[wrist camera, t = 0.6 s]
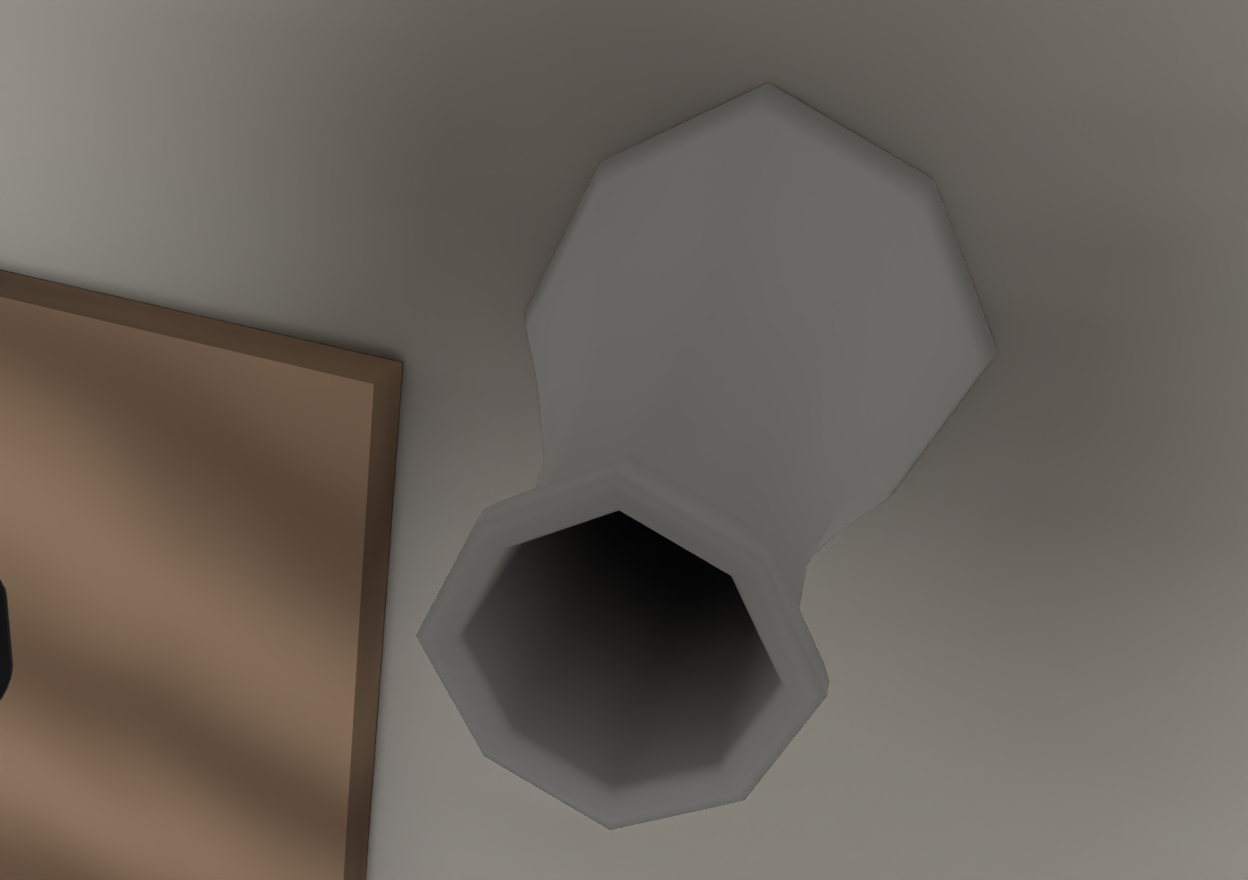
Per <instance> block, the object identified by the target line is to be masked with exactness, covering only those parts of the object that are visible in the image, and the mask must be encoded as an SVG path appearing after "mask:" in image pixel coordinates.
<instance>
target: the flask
mask: <svg viewBox="0 0 1248 880" xmlns="http://www.w3.org/2000/svg"><path fill="white" fill-rule="evenodd" d="M525 320H526V330H527V335H528V340H529V345H530V350H531V355H532V359H533V364H534V369H535V374H536V379H537V387H538V398H539V409H540V420H541V430H542V441H543V452H544V461H543V465H542V468H541V472H540V475H539V479H538V482H537V486H536V489H533V490H531V491H528V492H525V493H522V494H519V495H517V496H514V497H511V498H508V499H505V500H503V501H500V502H498V503H496V504H494V505H492V506H490V507H488V508H486V509H485V510H484V511H483V512H482V514H481V515H480V517H479V519H478V520H477V522H476V523H475V525H474V527H473V529H472V531H471V533H470V535H469V537H468V538H467V540H466V542H465V544H464V546H463V548H462V550H461V552H460V554H459V555H458V557H457V559H456V561H455V563H454V565H453V567H452V569H451V571H450V573H449V574H448V576H447V578H446V580H445V582H444V584H443V586H442V588H441V590H440V591H439V593H438V595H437V597H436V599H435V601H434V603H433V605H432V607H431V609H430V610H429V612H428V614H427V616H426V618H425V620H424V622H423V624H422V626H421V627H420V629H419V631H418V633H417V635H416V636H417V638H418V640H419V642H420V643H421V645H422V647H423V649H424V650H425V652H426V654H427V656H428V657H429V659H430V661H431V663H432V665H433V666H434V668H435V670H436V672H437V673H438V675H439V677H440V679H441V680H442V682H443V684H444V686H445V688H446V689H447V691H448V693H449V695H450V696H451V698H452V700H453V702H454V703H455V705H456V707H457V709H458V710H459V712H460V714H461V716H462V718H463V719H464V721H465V723H466V725H467V726H468V728H469V730H470V732H471V733H472V735H473V737H474V739H475V741H476V742H477V744H478V746H479V748H480V749H481V751H482V753H483V755H484V756H485V757H487V758H489V759H490V760H492V761H494V762H495V763H497V764H499V765H500V766H502V767H504V768H506V769H507V770H509V771H511V772H512V773H514V774H516V775H517V776H519V777H521V778H523V779H524V780H526V781H528V782H529V783H531V784H533V785H534V786H536V787H538V788H540V789H541V790H543V791H545V792H546V793H548V794H550V795H551V796H553V797H555V798H557V799H558V800H560V801H562V802H563V803H565V804H567V805H568V806H570V807H572V808H574V809H575V810H577V811H579V812H580V813H582V814H584V815H585V816H587V817H589V818H591V819H592V820H594V821H596V822H597V823H599V824H601V825H602V826H604V827H606V828H608V829H609V830H612V829H616V828H621V827H625V826H630V825H634V824H639V823H643V822H648V821H653V820H657V819H662V818H666V817H671V816H675V815H680V814H684V813H689V812H693V811H698V810H702V809H707V808H711V807H716V806H720V805H725V804H729V803H734V802H738V801H743V800H745V798H746V797H747V796H748V795H749V793H750V792H751V791H752V790H753V788H754V787H755V786H756V785H757V783H758V782H759V781H760V780H761V778H762V777H763V776H764V774H765V773H766V772H767V771H768V769H769V768H770V767H771V766H772V764H773V763H774V762H775V761H776V759H777V758H778V757H779V756H780V754H781V753H782V752H783V750H784V749H785V748H786V747H787V745H788V744H789V743H790V742H791V740H792V739H793V738H794V737H795V735H796V734H797V733H798V731H799V730H800V729H801V728H802V726H803V725H804V724H805V723H806V721H807V720H808V719H809V718H810V716H811V715H812V714H813V713H814V711H815V710H816V709H817V707H818V706H819V705H820V704H821V702H822V701H823V700H824V699H825V697H826V695H827V689H828V684H829V678H828V675H827V672H826V669H825V666H824V662H823V660H822V658H821V656H820V654H819V651H818V649H817V647H816V645H815V642H814V640H813V638H812V636H811V634H810V631H809V629H808V627H807V625H806V623H805V620H804V618H803V616H802V614H801V612H800V609H799V605H800V600H801V594H802V589H803V583H804V577H805V572H806V566H807V564H808V563H809V561H810V559H811V557H812V556H813V554H815V553H816V552H817V551H818V550H819V549H820V548H821V547H823V546H824V545H825V544H826V543H827V542H828V541H830V540H831V539H832V538H833V537H834V536H835V535H836V534H838V533H839V532H840V531H841V530H842V529H844V528H845V527H847V526H848V525H850V524H851V523H853V522H854V521H855V520H857V519H858V518H860V517H861V516H863V515H864V514H866V513H867V512H869V511H870V510H872V509H873V508H875V507H876V506H877V505H879V504H880V503H882V502H883V501H884V500H885V499H886V498H888V497H889V496H890V495H891V494H892V493H893V492H894V491H895V490H896V489H897V487H898V486H899V485H900V483H901V482H902V481H903V479H904V478H905V477H906V475H907V474H908V473H909V471H910V470H911V469H912V467H913V466H914V464H915V463H916V462H917V460H918V459H919V458H920V456H921V455H922V454H923V452H924V451H925V450H926V448H927V447H928V446H929V444H930V443H931V442H932V440H933V439H934V437H935V436H936V435H937V433H938V432H939V431H940V429H941V428H942V427H943V425H944V424H945V423H946V421H947V420H948V419H949V417H950V416H951V415H952V413H953V412H954V411H955V409H956V408H957V406H958V405H959V404H960V402H961V401H962V400H963V398H964V397H965V396H966V394H967V393H968V392H969V390H970V389H971V388H972V386H973V385H974V384H975V382H976V381H977V379H978V378H979V377H980V375H981V374H982V373H983V371H984V370H985V369H986V367H987V366H988V365H989V363H990V362H991V361H992V359H993V358H994V357H995V355H996V354H997V353H998V351H997V348H996V346H995V343H994V340H993V337H992V335H991V332H990V329H989V327H988V324H987V321H986V318H985V316H984V313H983V310H982V308H981V305H980V302H979V299H978V297H977V294H976V291H975V289H974V286H973V283H972V280H971V278H970V275H969V272H968V270H967V267H966V264H965V261H964V259H963V256H962V253H961V251H960V248H959V245H958V242H957V240H956V237H955V234H954V232H953V229H952V226H951V223H950V221H949V218H948V215H947V213H946V210H945V207H944V204H943V202H942V199H941V196H940V194H939V191H938V188H937V185H936V183H935V180H934V179H932V178H930V177H929V176H927V175H925V174H924V173H922V172H920V171H918V170H917V169H915V168H913V167H912V166H910V165H908V164H906V163H905V162H903V161H901V160H900V159H898V158H896V157H894V156H893V155H891V154H889V153H888V152H886V151H884V150H882V149H881V148H879V147H877V146H876V145H874V144H872V143H870V142H869V141H867V140H865V139H864V138H862V137H860V136H858V135H857V134H855V133H853V132H852V131H850V130H848V129H846V128H845V127H843V126H841V125H840V124H838V123H836V122H834V121H833V120H831V119H829V118H828V117H826V116H824V115H822V114H821V113H819V112H817V111H816V110H814V109H812V108H810V107H809V106H807V105H805V104H804V103H802V102H800V101H798V100H797V99H795V98H793V97H792V96H790V95H788V94H786V93H785V92H783V91H781V90H779V89H778V88H776V87H774V86H773V85H771V84H769V83H766V84H764V85H762V86H760V87H758V88H756V89H754V90H751V91H749V92H747V93H745V94H743V95H741V96H739V97H737V98H734V99H732V100H730V101H728V102H726V103H724V104H722V105H720V106H718V107H715V108H713V109H711V110H709V111H707V112H705V113H703V114H701V115H698V116H696V117H694V118H692V119H690V120H688V121H686V122H684V123H681V124H679V125H677V126H675V127H673V128H671V129H669V130H667V131H664V132H662V133H660V134H658V135H656V136H654V137H652V138H650V139H648V140H645V141H643V142H641V143H639V144H637V145H635V146H633V147H631V148H628V149H626V150H624V151H622V152H620V153H618V154H616V155H614V156H611V157H609V158H607V159H605V160H603V161H601V162H600V163H599V165H598V167H597V169H596V171H595V173H594V175H593V177H592V179H591V181H590V183H589V185H588V187H587V189H586V191H585V193H584V195H583V197H582V199H581V201H580V203H579V205H578V207H577V209H576V211H575V213H574V215H573V217H572V219H571V221H570V223H569V225H568V227H567V229H566V231H565V233H564V235H563V237H562V239H561V241H560V243H559V245H558V247H557V249H556V251H555V253H554V255H553V257H552V259H551V261H550V263H549V265H548V267H547V269H546V271H545V273H544V275H543V277H542V279H541V281H540V283H539V285H538V287H537V289H536V291H535V293H534V295H533V297H532V299H531V301H530V303H529V305H528V307H527V309H526V311H525Z"/></svg>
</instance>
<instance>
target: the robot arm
mask: <svg viewBox="0 0 1248 880" xmlns="http://www.w3.org/2000/svg"><path fill="white" fill-rule="evenodd" d="M12 672H13V655H12V644H11V633H10V622H9V611H8V599H7V592H6V588H5V586H4V585H3V583H2V581H1V580H0V700H1V699H2V698H3V696H4V694H5V692H6V690H7V688H8V686H9V683H10V680H11V677H12Z"/></svg>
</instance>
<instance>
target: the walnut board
mask: <svg viewBox="0 0 1248 880" xmlns="http://www.w3.org/2000/svg"><path fill="white" fill-rule="evenodd" d="M402 365H403V363H401V362H397V361H392V360H388V359H384V358H379V357H375V356H371V355H366V354H362V353H358V352H353V351H349V350H345V349H340V348H336V347H332V346H327V345H323V344H318V343H314V342H310V341H305V340H301V339H297V338H292V337H288V336H284V335H279V334H275V333H271V332H266V331H262V330H258V329H253V328H249V327H245V326H240V325H236V324H232V323H227V322H223V321H219V320H214V319H210V318H206V317H201V316H197V315H193V314H188V313H184V312H180V311H175V310H171V309H166V308H162V307H158V306H153V305H149V304H145V303H140V302H136V301H132V300H127V299H123V298H119V297H114V296H110V295H106V294H101V293H97V292H93V291H88V290H84V289H80V288H75V287H71V286H67V285H62V284H58V283H54V282H49V281H45V280H41V279H36V278H32V277H28V276H23V275H19V274H14V273H10V272H6V271H1V270H0V580H1V581H2V583H3V585H4V586H5V588H6V592H7V599H8V611H9V622H10V633H11V644H12V655H13V672H12V677H11V680H10V683H9V686H8V688H7V690H6V692H5V694H4V696H3V698H2V699H1V700H0V880H365V875H366V862H367V848H368V834H369V820H370V806H371V793H372V779H373V765H374V751H375V737H376V724H377V710H378V696H379V682H380V668H381V655H382V641H383V627H384V613H385V599H386V586H387V572H388V558H389V544H390V530H391V517H392V503H393V489H394V475H395V461H396V448H397V434H398V420H399V406H400V392H401V379H402Z"/></svg>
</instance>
